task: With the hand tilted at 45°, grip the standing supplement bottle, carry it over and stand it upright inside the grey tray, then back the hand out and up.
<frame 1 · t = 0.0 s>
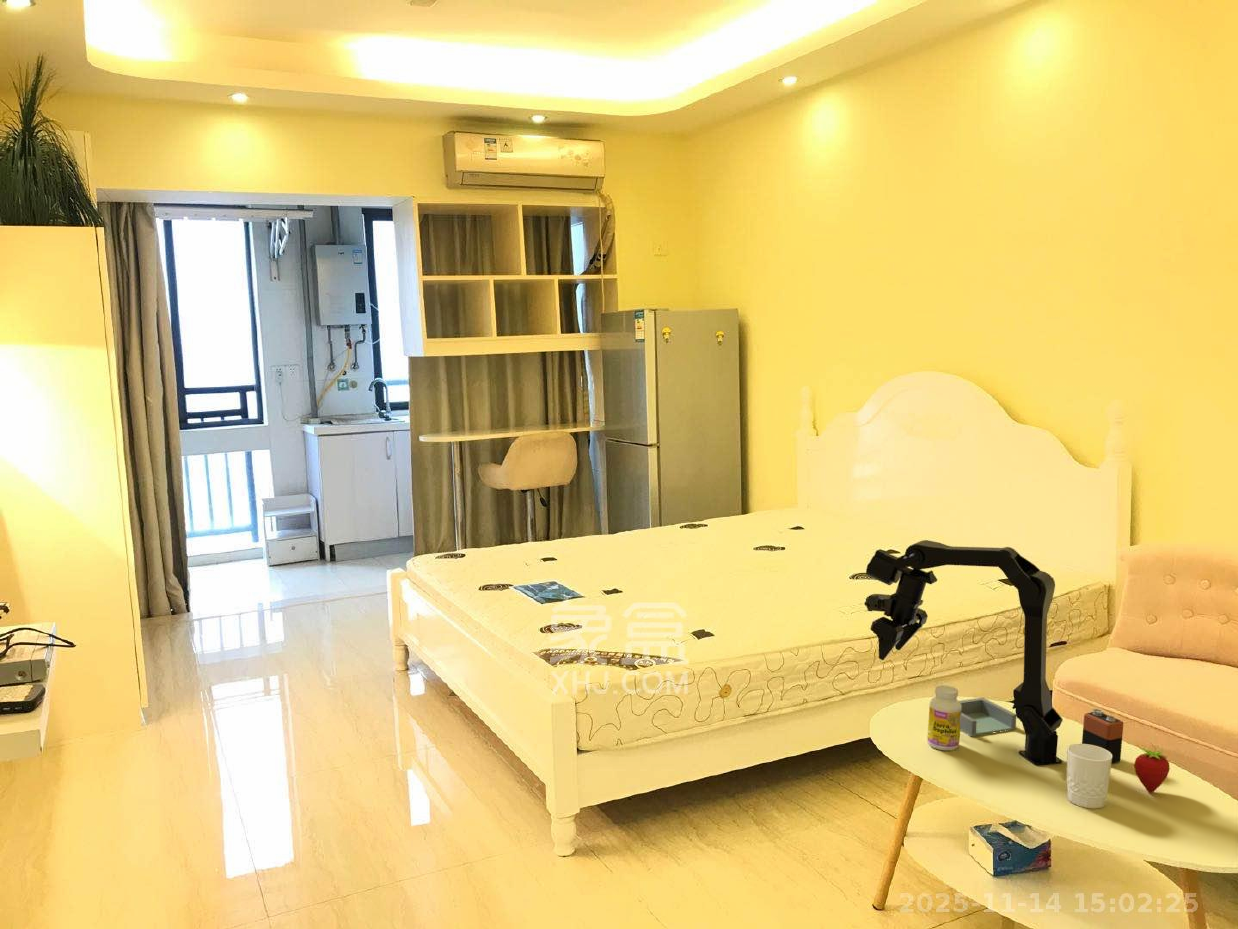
hand: (889, 654, 236), 15 cm above the table, tool pointing down, fingers open, 9 cm apart
white cup: (1085, 802, 198), on the table
battery: (1100, 759, 218), on the table
grey tray: (978, 725, 235), on the table
strawberry: (1149, 793, 202), on the table
supplement bottle: (942, 746, 223), on the table
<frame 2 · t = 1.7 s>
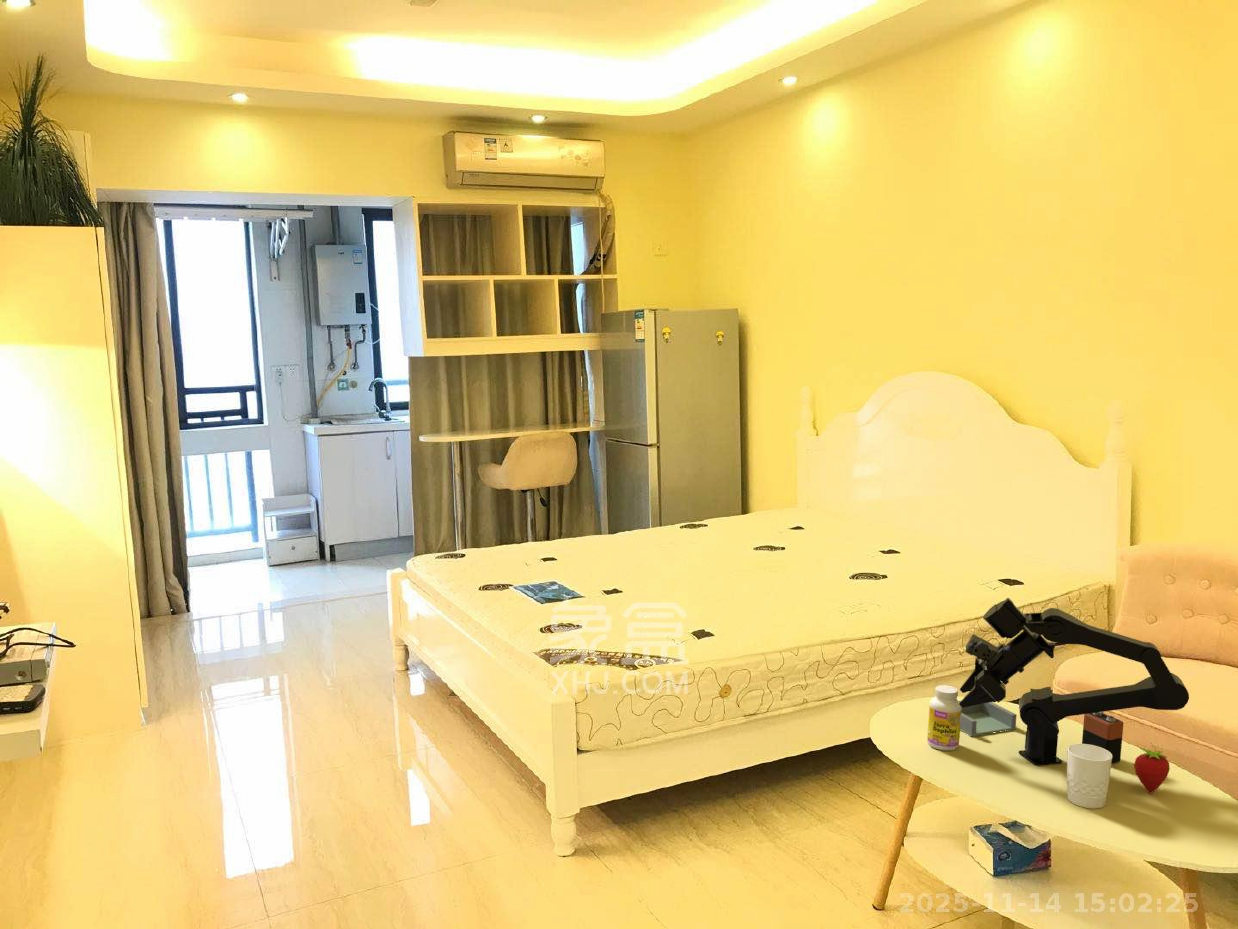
hand: (960, 698, 221), 11 cm above the table, tool tilted 45°, fingers open, 9 cm apart
nothing on the table moved.
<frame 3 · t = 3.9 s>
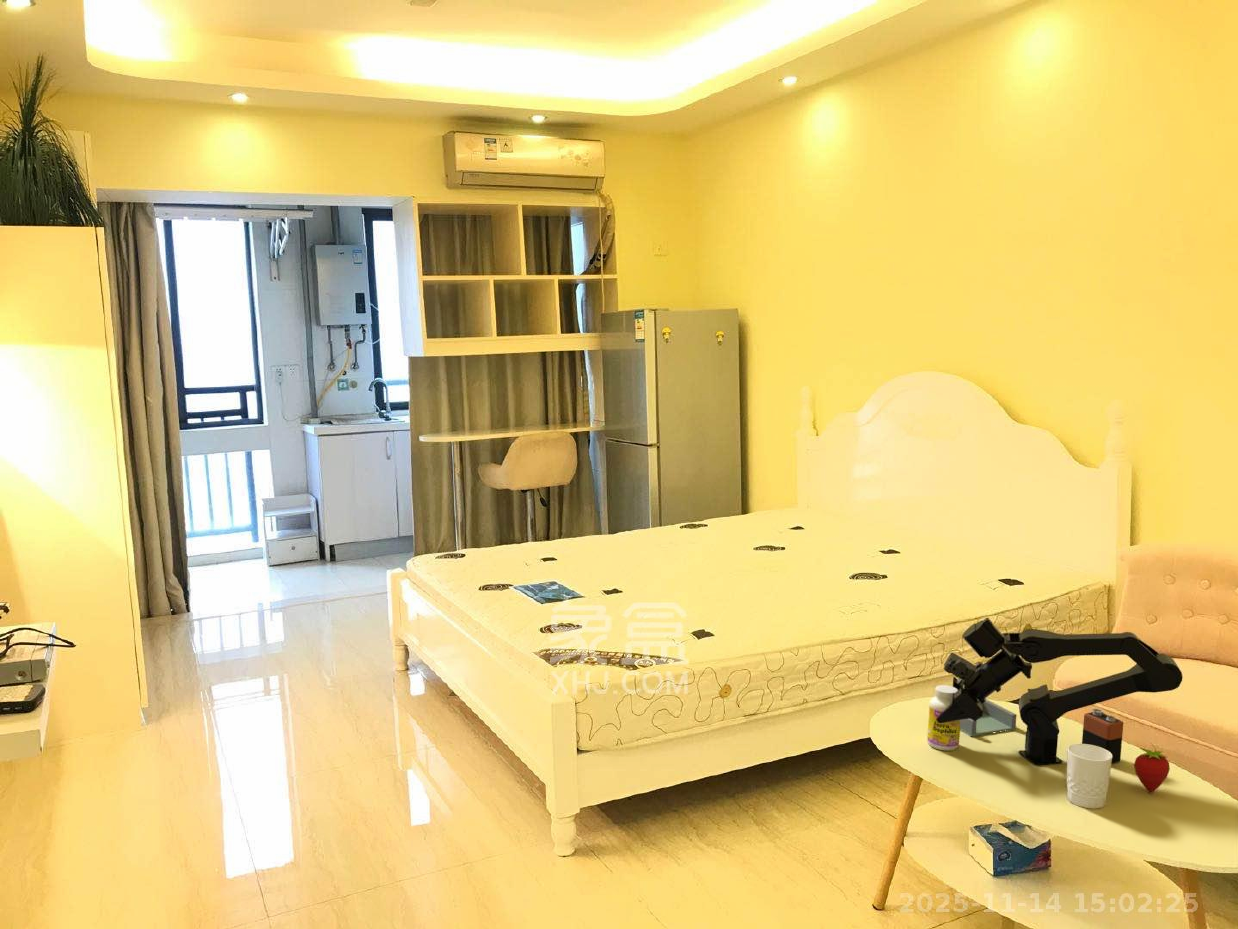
hand: (938, 715, 223), 7 cm above the table, tool tilted 45°, fingers closed on supplement bottle, 7 cm apart
supplement bottle: (942, 746, 223), on the table, touching gripper
everything else where it was.
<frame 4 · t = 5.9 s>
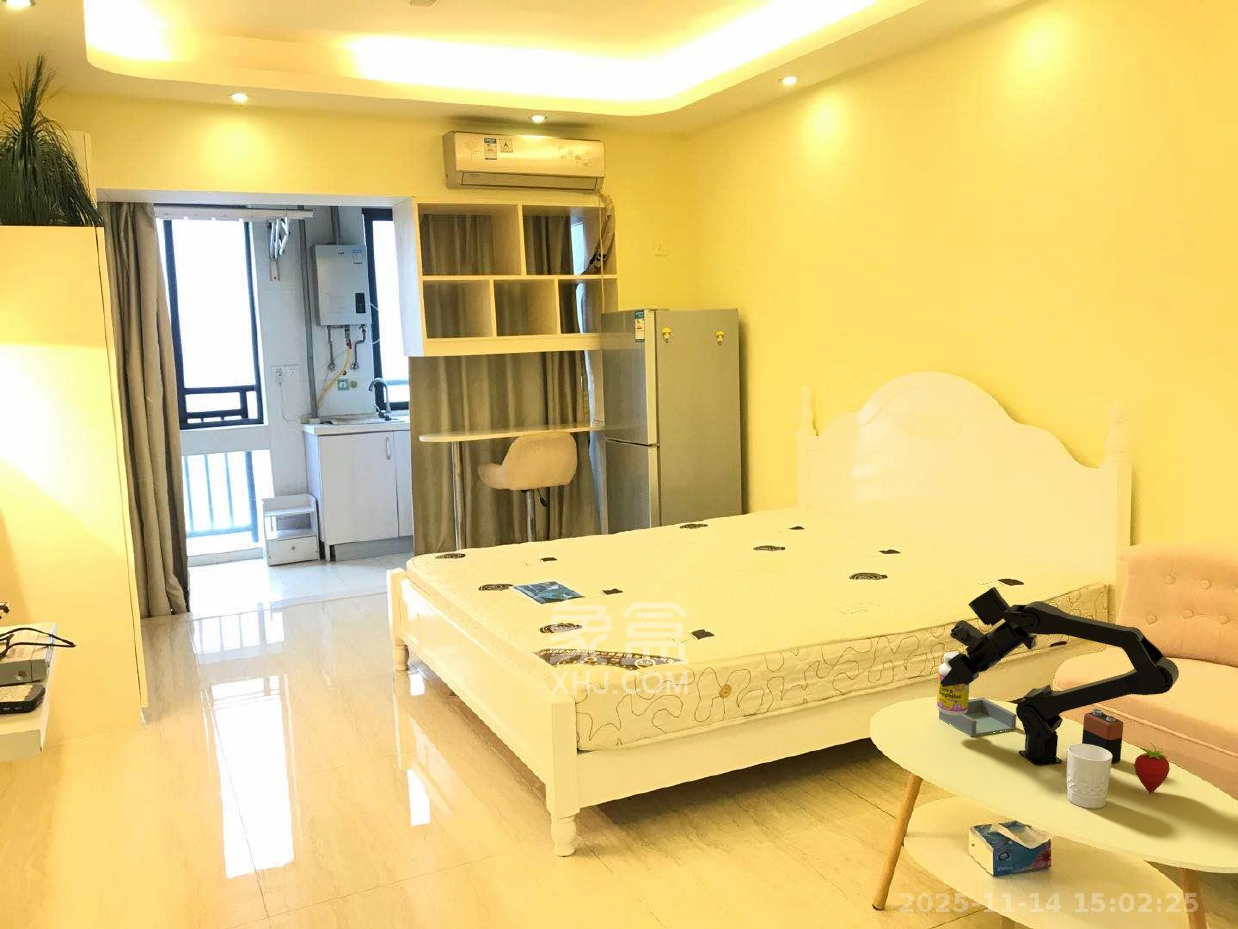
hand: (947, 680, 228), 12 cm above the table, tool tilted 45°, fingers closed on supplement bottle, 7 cm apart
supplement bottle: (952, 711, 228), point 5 cm above the table, touching gripper
everything else where it was.
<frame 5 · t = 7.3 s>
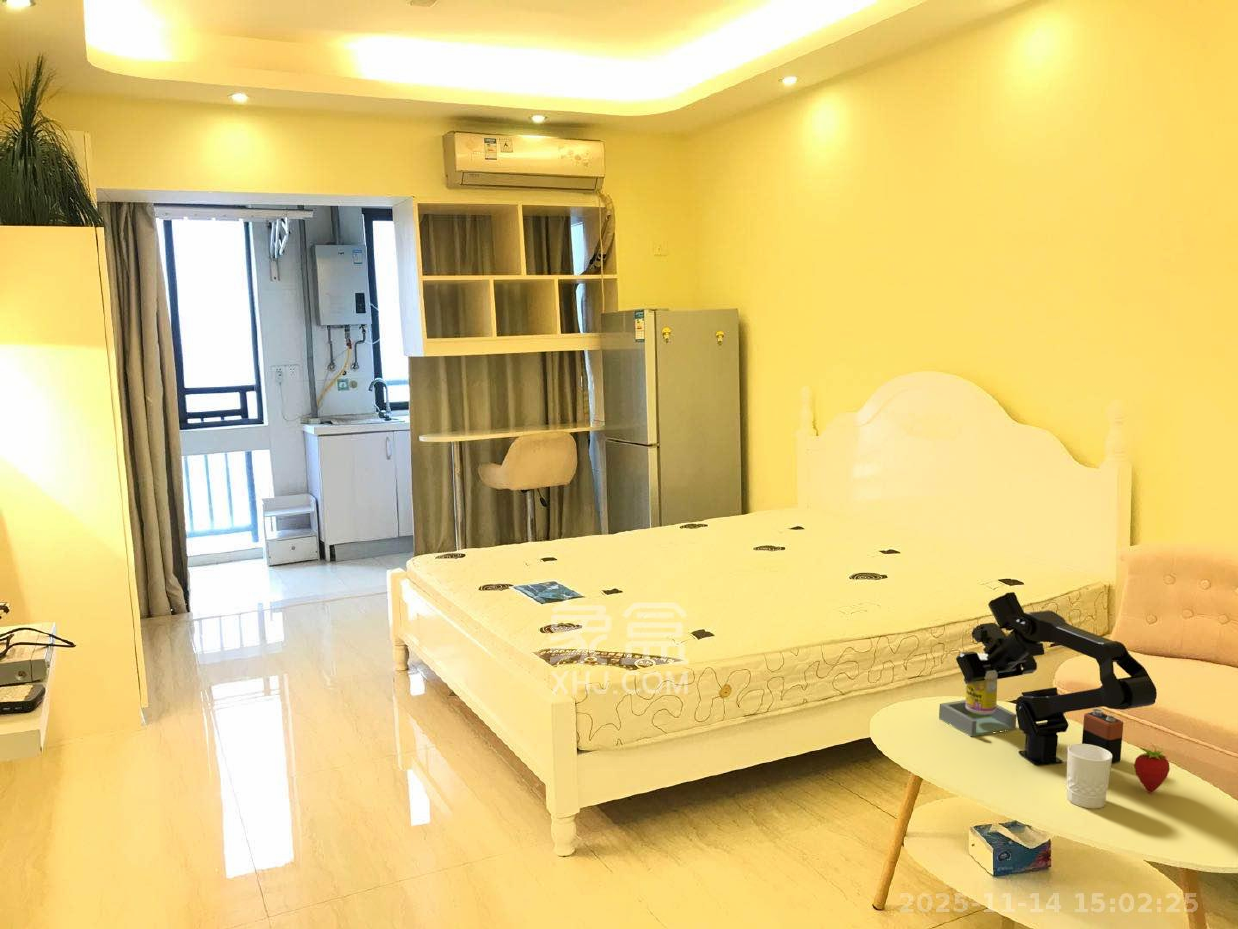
hand: (977, 680, 235), 10 cm above the table, tool tilted 45°, fingers closed on supplement bottle, 7 cm apart
supplement bottle: (980, 711, 234), point 3 cm above the table, touching gripper
everything else where it was.
when the fingers open (8 cm above the table, at t = 8.2 s): supplement bottle drops 1 cm, resting on grey tray.
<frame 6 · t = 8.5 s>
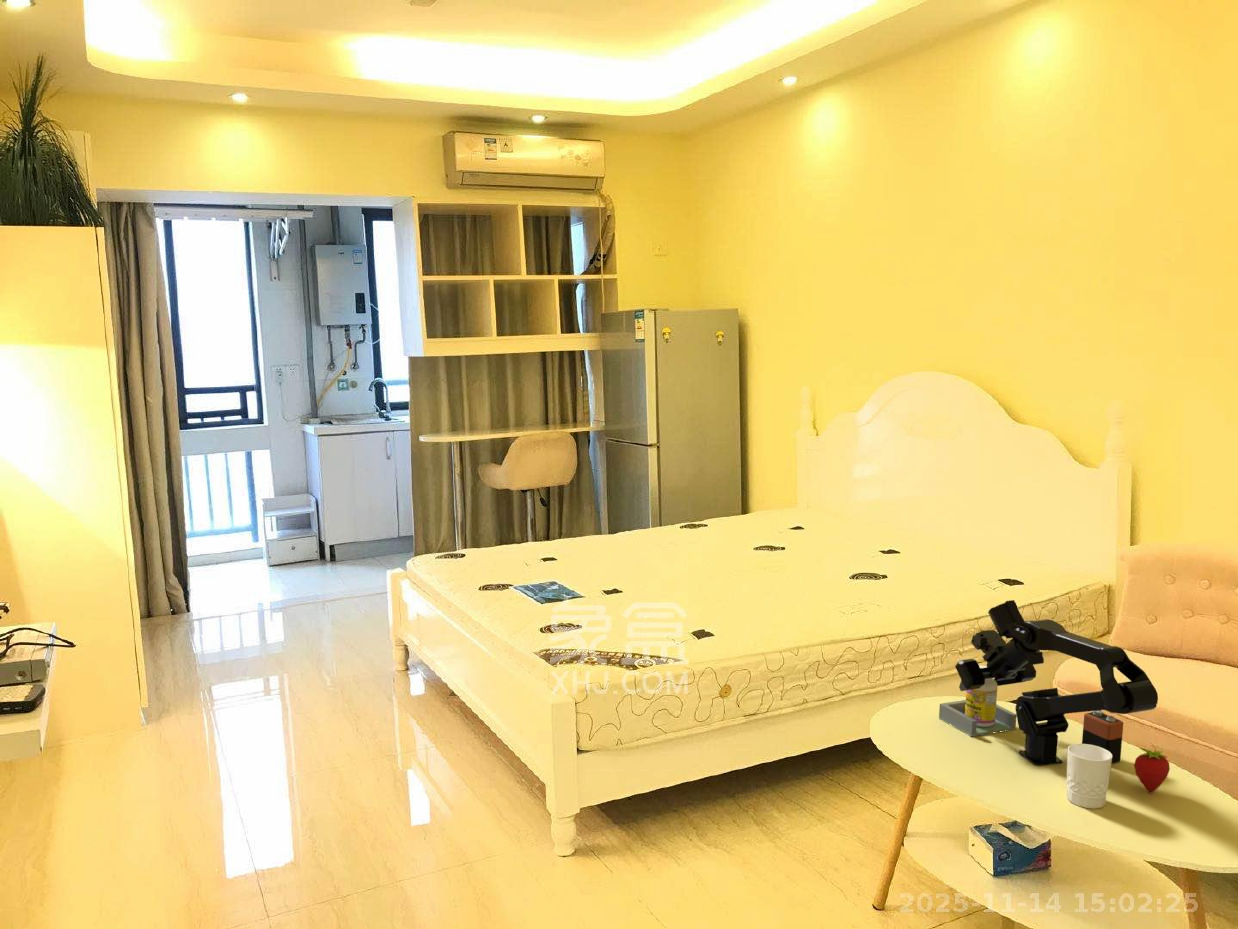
hand: (976, 686, 235), 9 cm above the table, tool tilted 45°, fingers open, 9 cm apart
supplement bottle: (979, 723, 235), resting on grey tray
everything else where it was.
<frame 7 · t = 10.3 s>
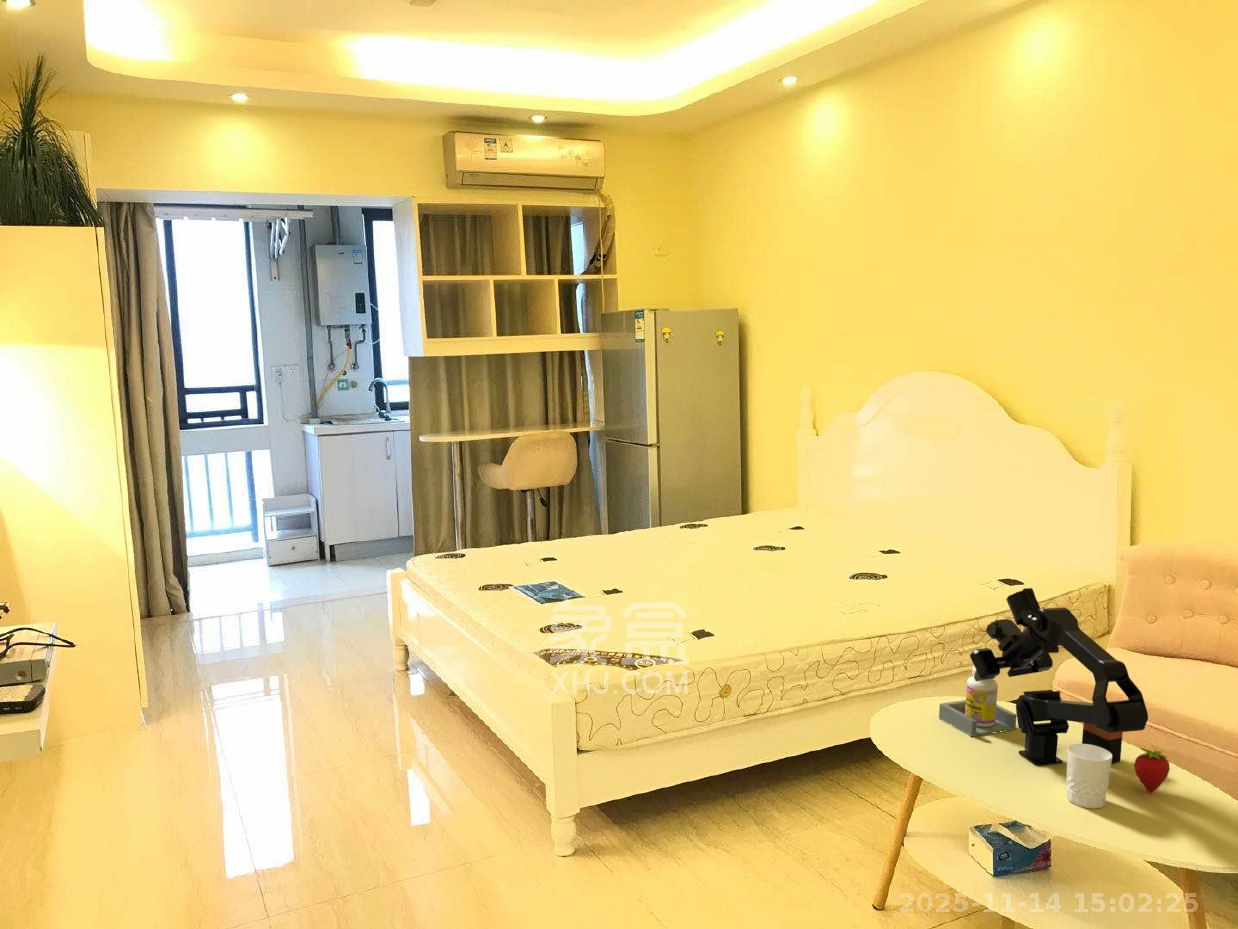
hand: (992, 677, 231), 12 cm above the table, tool tilted 45°, fingers open, 9 cm apart
nothing on the table moved.
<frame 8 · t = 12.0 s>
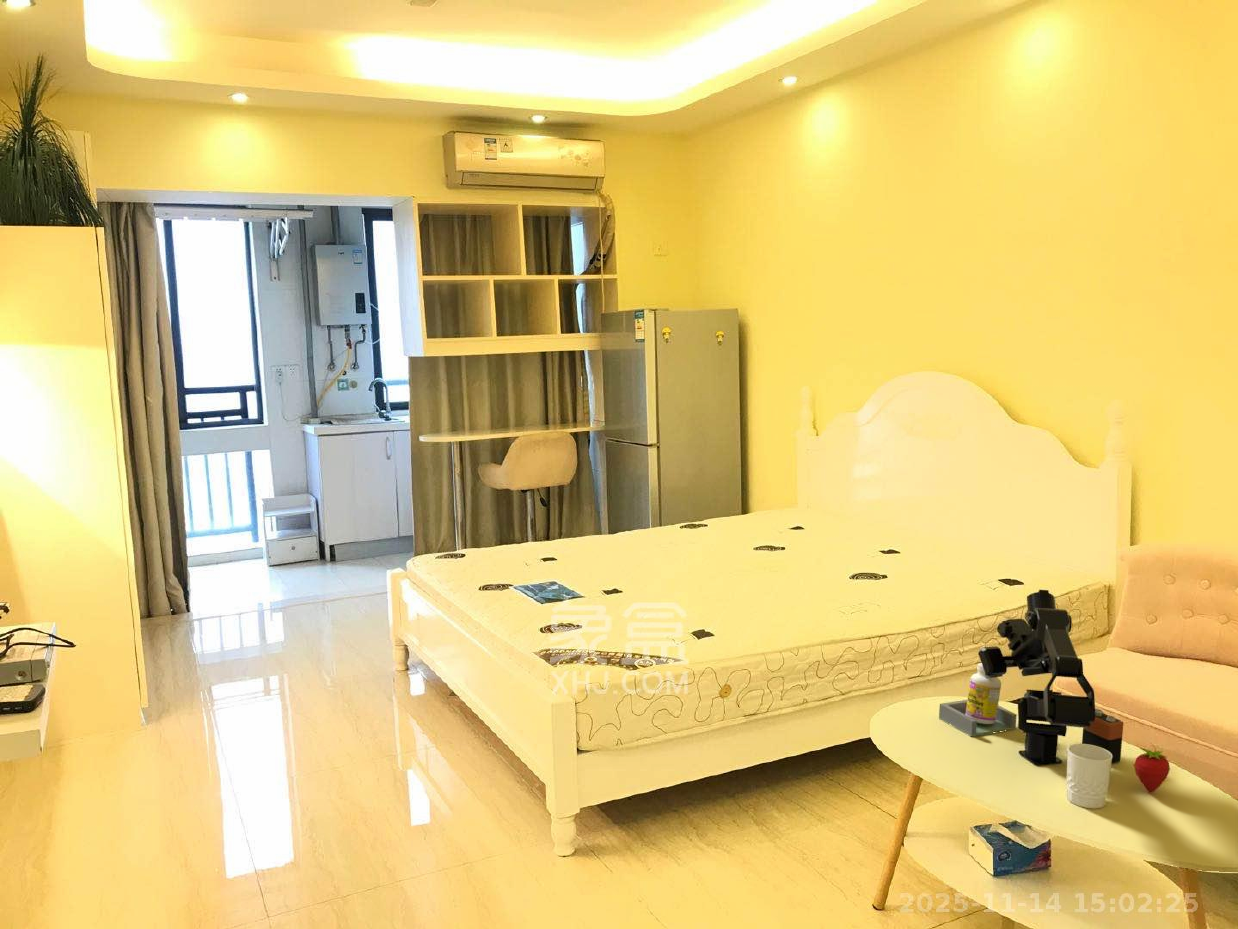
hand: (1004, 675, 233), 12 cm above the table, tool tilted 45°, fingers open, 9 cm apart
supplement bottle: (979, 721, 235), point 1 cm above the table, touching grey tray, gripper
everything else where it was.
at the end: supplement bottle 0.2 cm off-centre on the grey tray, point 0.9 cm above the grey tray's base; supplement bottle tilted 9°; the gripper is holding nothing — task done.
